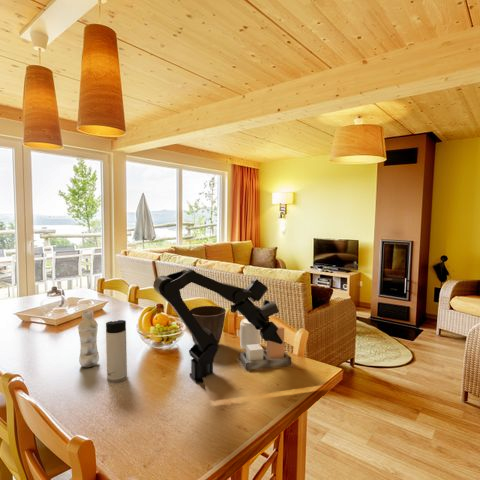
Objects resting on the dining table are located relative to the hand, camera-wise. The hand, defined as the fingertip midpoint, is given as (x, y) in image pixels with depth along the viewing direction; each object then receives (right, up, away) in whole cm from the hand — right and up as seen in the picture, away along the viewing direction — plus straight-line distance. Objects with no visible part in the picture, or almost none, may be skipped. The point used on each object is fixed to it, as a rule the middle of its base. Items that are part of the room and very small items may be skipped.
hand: (278, 339), depth 123 cm
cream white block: (-9, -8, -2) cm, 12 cm away
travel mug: (-56, -10, -12) cm, 58 cm away
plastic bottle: (-69, -9, -2) cm, 70 cm away
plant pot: (-28, -8, +14) cm, 32 cm away
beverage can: (-10, -8, +14) cm, 19 cm away
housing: (-5, -9, -1) cm, 11 cm away
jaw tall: (-1, -8, 0) cm, 8 cm away
